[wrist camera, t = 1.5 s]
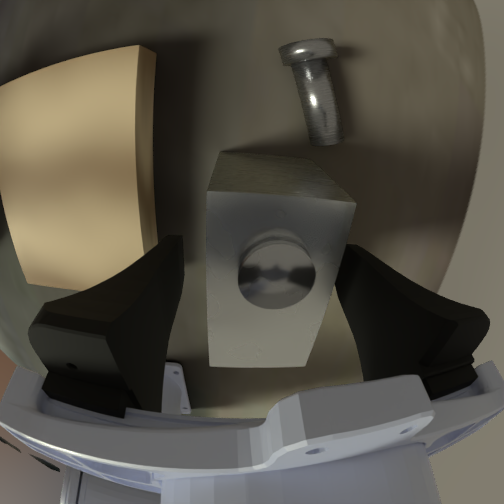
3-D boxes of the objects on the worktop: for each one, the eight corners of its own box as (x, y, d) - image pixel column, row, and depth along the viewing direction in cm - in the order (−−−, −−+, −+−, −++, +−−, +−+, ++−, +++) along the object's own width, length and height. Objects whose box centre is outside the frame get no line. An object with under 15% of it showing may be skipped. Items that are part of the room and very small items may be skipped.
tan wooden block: (160, 270, 16) (151, 297, 14) (45, 261, 15) (27, 283, 13) (156, 53, 9) (139, 44, 7) (20, 86, 9) (-8, 90, 7)
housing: (286, 287, 17) (307, 376, 11) (215, 285, 17) (209, 377, 11) (309, 158, 13) (364, 210, 7) (219, 151, 12) (204, 198, 7)
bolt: (344, 134, 12) (365, 143, 10) (299, 144, 12) (312, 153, 10) (323, 46, 10) (341, 36, 8) (274, 53, 10) (283, 42, 8)
